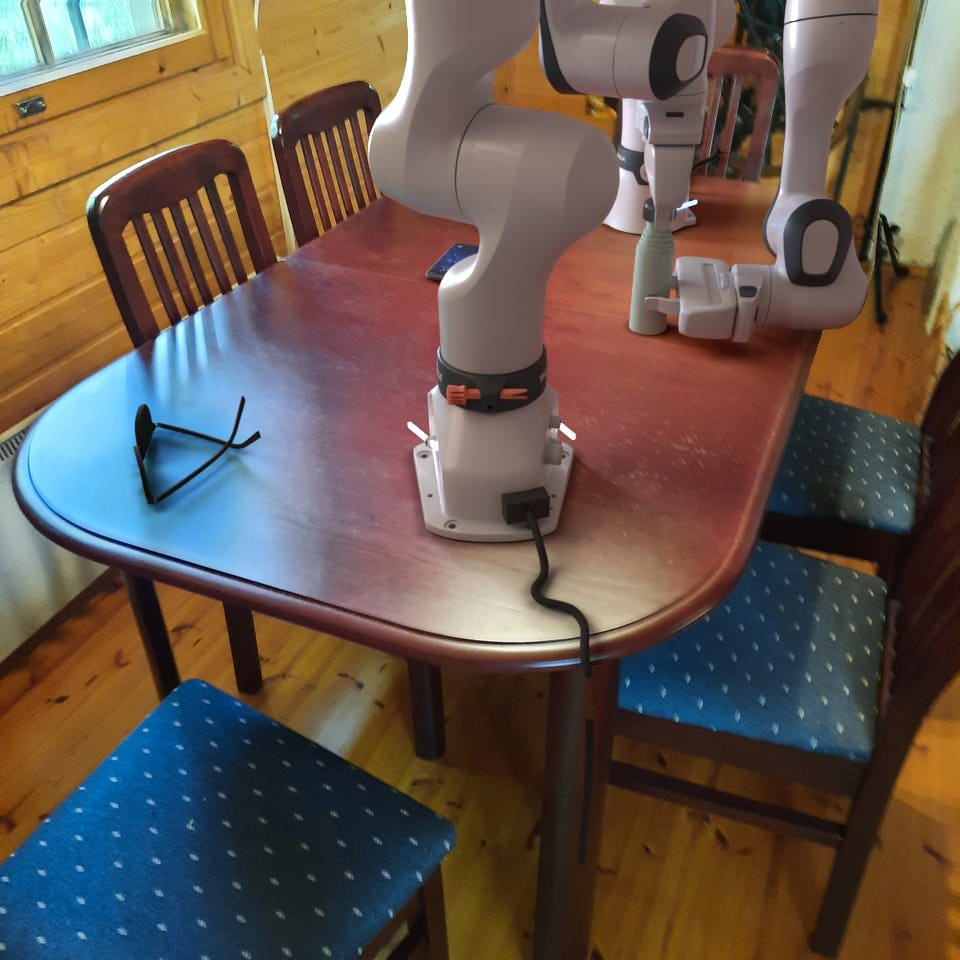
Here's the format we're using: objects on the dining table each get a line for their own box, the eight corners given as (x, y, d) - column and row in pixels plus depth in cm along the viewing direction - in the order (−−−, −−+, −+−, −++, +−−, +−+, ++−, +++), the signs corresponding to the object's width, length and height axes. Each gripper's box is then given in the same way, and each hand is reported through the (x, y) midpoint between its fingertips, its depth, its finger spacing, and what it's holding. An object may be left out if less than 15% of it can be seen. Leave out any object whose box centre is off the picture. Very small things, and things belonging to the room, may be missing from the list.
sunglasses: (270, 486, 97) (262, 449, 94) (137, 510, 94) (125, 474, 91) (257, 411, 110) (250, 377, 107) (140, 430, 107) (130, 396, 104)
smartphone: (493, 246, 151) (464, 280, 139) (493, 251, 151) (464, 285, 140) (454, 241, 153) (422, 274, 141) (454, 246, 153) (423, 279, 142)
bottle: (672, 325, 127) (687, 205, 116) (653, 338, 124) (666, 216, 113) (641, 315, 130) (653, 197, 119) (621, 328, 127) (632, 208, 116)
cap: (652, 225, 115) (654, 209, 113) (635, 215, 118) (637, 199, 117) (681, 220, 116) (683, 204, 115) (664, 210, 119) (666, 194, 118)
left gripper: (639, 93, 117) (630, 194, 126) (650, 133, 101) (639, 246, 109) (685, 93, 117) (674, 194, 125) (704, 133, 101) (689, 247, 109)
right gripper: (739, 247, 128) (646, 244, 130) (754, 305, 112) (647, 301, 114) (733, 286, 132) (642, 283, 134) (746, 348, 116) (643, 344, 117)
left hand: (658, 219), depth 117 cm, fingers open, 6 cm apart
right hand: (644, 292), depth 124 cm, fingers closed on bottle, 5 cm apart
